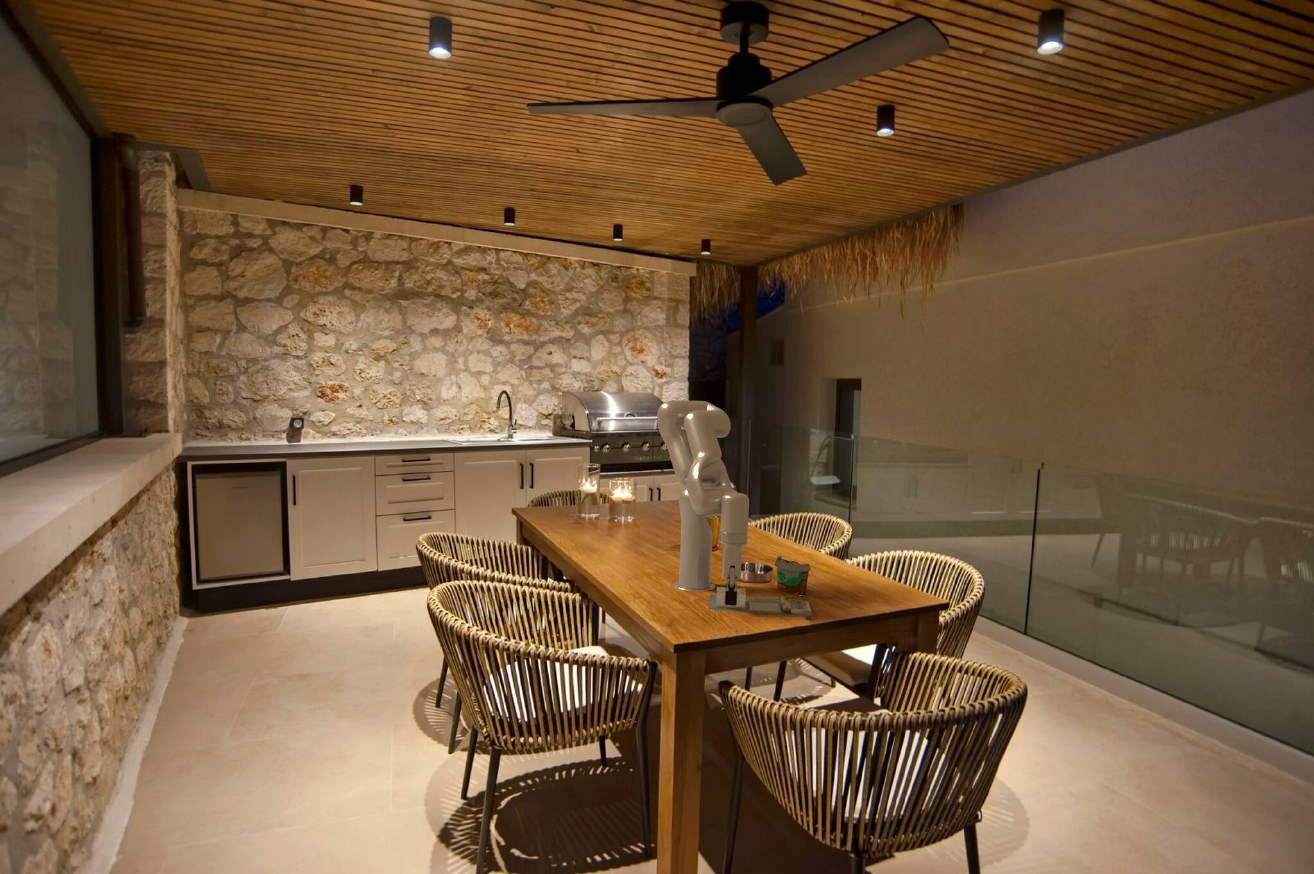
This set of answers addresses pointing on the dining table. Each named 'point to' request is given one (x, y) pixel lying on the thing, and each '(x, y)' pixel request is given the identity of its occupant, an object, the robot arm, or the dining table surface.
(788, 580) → the food container
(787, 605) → the fixed leaf
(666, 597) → the dining table surface
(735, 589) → the robot arm
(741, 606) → the tan studded block
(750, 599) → the board
